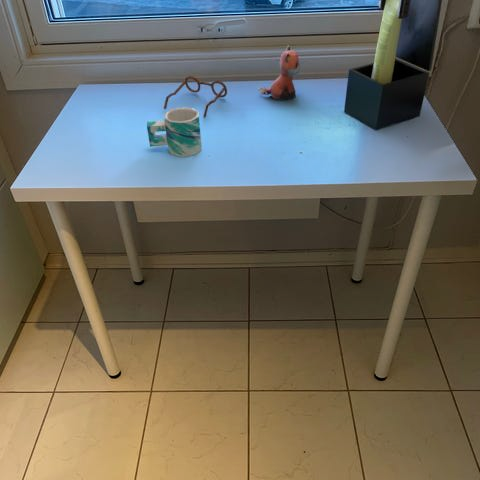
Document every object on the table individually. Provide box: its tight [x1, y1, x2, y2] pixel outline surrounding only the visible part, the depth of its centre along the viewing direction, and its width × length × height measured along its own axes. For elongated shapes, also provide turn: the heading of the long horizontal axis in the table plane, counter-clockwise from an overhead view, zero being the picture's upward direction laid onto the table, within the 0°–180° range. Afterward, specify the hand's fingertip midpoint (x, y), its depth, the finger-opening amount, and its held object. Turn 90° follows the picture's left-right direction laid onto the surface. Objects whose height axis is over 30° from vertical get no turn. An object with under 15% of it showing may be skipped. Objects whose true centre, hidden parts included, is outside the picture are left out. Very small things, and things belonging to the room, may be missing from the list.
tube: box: [371, 0, 401, 84], centre depth 122 cm, size 6×5×20 cm
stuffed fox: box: [257, 44, 301, 101], centre depth 141 cm, size 8×11×12 cm
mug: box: [146, 106, 203, 158], centre depth 122 cm, size 8×12×8 cm
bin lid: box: [395, 0, 443, 72], centre depth 125 cm, size 15×13×5 cm
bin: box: [343, 57, 430, 131], centre depth 131 cm, size 15×13×11 cm
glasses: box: [163, 75, 228, 118], centre depth 141 cm, size 13×13×5 cm
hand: (392, 13), depth 118 cm, fingers closed on tube, 7 cm apart
